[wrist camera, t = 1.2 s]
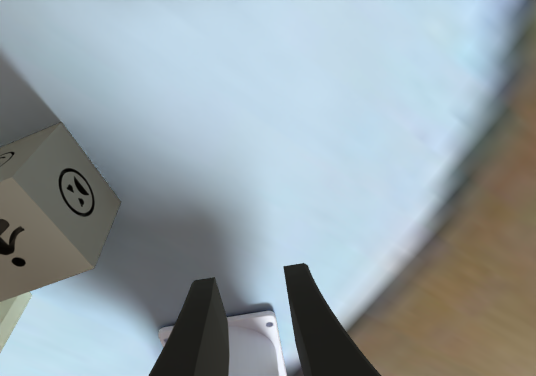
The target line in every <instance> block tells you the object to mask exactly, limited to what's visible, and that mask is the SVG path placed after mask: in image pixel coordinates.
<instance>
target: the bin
mask: <svg viewBox="0 0 536 376" xmlns="http://www.w3.org/2000/svg"><path fill="white" fill-rule="evenodd" d="M31 297H32V295H31V293H30V292H27V293H24V294H21V295H18V296H16V297H13V298H10V299H7V300H4V301H2V302H0V353H1V351H2V349H3V347H4V346H5V344H6V342H7V340H8V338H9V336H10V335H11V333H12V331H13V329H14V327H15V326H16V324H17V322H18V320H19V318H20V317H21V315H22V313H23V311H24V309H25V308H26V306H27V304H28V302H29V300H30V298H31Z"/></svg>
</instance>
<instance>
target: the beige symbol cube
mask: <svg viewBox="0 0 536 376" xmlns="http://www.w3.org/2000/svg"><path fill="white" fill-rule="evenodd" d="M120 204H121V201H120V200H119V199H118V197H117V196H116V195H115V193H114V192H113V191H112V189H111V188H110V187H109V185H108V184H107V183H106V181H105V180H104V178H103V177H102V176H101V174H100V173H99V172H98V170H97V169H96V168H95V166H94V165H93V164H92V162H91V161H90V160H89V158H88V157H87V156H86V154H85V153H84V151H83V150H82V149H81V147H80V146H79V145H78V143H77V142H76V141H75V139H74V138H73V137H72V135H71V134H70V133H69V131H68V130H67V128H66V127H65V126H64V124H63V123H62V122H60V123H58V124H56V125H53V126H51V127H48V128H46V129H44V130H41V131H39V132H36V133H34V134H32V135H29V136H27V137H24V138H22V139H20V140H17V141H15V142H12V143H10V144H8V145H5V146H3V147H0V302H2V301H4V300H7V299H10V298H13V297H16V296H18V295H21V294H24V293H27V292H30V291H32V290H35V289H38V288H41V287H44V286H46V285H49V284H52V283H55V282H58V281H60V280H63V279H66V278H69V277H71V276H74V275H77V274H80V273H83V272H85V271H88V270H91V269H94V268H95V266H96V263H97V261H98V258H99V256H100V253H101V251H102V248H103V246H104V243H105V241H106V238H107V236H108V234H109V231H110V229H111V226H112V224H113V221H114V219H115V216H116V214H117V211H118V209H119V206H120Z"/></svg>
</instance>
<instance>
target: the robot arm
mask: <svg viewBox="0 0 536 376" xmlns="http://www.w3.org/2000/svg"><path fill="white" fill-rule="evenodd" d="M284 273H285V279H286V286H287V292H288V298H289V305H290V311H291V317H292V324H293V330H294V336H295V342H296V347H297V351H298V355H299V359H300V363H301V367H302V370H303V374H304V376H381V375H380V374H379V373H378V371H377V370H376V369H375V368H374V367H373V366H372V364H371V363H370V362H369V361H368V360H367V358H366V357H365V356H364V355H363V353H362V352H361V351H360V350H359V348H358V347H357V346H356V344H355V343H354V342H353V340H352V339H351V338H350V336H349V335H348V334H347V332H346V331H345V329H344V328H343V327H342V325H341V324H340V322H339V321H338V319H337V318H336V316H335V315H334V313H333V312H332V310H331V309H330V307H329V306H328V304H327V302H326V301H325V299H324V298H323V296H322V294H321V292H320V291H319V289H318V287H317V285H316V283H315V281H314V279H313V277H312V275H311V273H310V270H309V268H308V265H306V264H304V263H302V264H296V265H289V266H284ZM158 337H159V339H160V341H161V343H162V345H163V350H162V352H161V354H160V356H159V357H158V359H157V361H156V363H155V365H154V367H153V368H152V370H151V372H150V374H149V376H287V373H286V368H285V363H284V357H283V352H282V347H281V342H280V336H279V331H278V326H277V321H276V315H275V313H274V312H272V311H263V312H257V313H251V314H244V315H238V316H232V317H226V313H225V310H224V307H223V303H222V300H221V297H220V293H219V290H218V287H217V283H216V280H215V277H214V278H207V279H201V280H195V281H194V282H193V283H192V284H191V287H190V290H189V293H188V295H187V298H186V300H185V303H184V305H183V307H182V310H181V312H180V314H179V316H178V319H177V321H176V323H175V325H174V326H168V327H163V328H161V329H160V330H159V333H158Z"/></svg>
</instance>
